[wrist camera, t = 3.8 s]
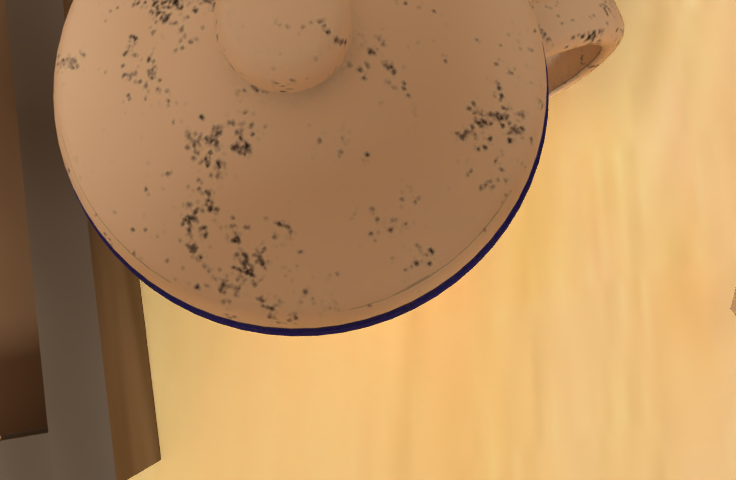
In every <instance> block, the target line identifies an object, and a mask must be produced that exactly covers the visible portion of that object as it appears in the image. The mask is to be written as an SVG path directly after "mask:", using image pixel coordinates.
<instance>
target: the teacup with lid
mask: <svg viewBox="0 0 736 480" xmlns="http://www.w3.org/2000/svg"><path fill="white" fill-rule="evenodd" d="M623 33H624V22H623V19H622V17H621V14H620V12H619V10H618V8H617V6H616V3H615V1H614V0H531V1H529V0H73V2H72V4H71V7H70V9H69V12H68V15H67V18H66V21H65V24H64V26H63V30H62V34H61V39H60V43H59V47H58V51H57V58H56V65H55V72H54V92H53V100H54V116H55V124H56V130H57V136H58V142H59V146H60V150H61V154H62V157H63V161H64V165H65V167H66V171H67V174H68V177H69V179H70V182H71V185H72V187H73V190H74V192H75V195H76V197H77V199H78V201H79V203H80V205H81V207H82V209H83V211H84V212H85V214H86V216H87V218H88V220H89V221H90V223H91V224H92V226H93V227H94V229H95V230H96V232H97V233H98V235H99V236H100V238H101V239H102V240H103V241H104V243H105V244H106V245H107V246H108V248H109V249H110V250H111V251H112V252H113V254H114V255H115V256H116V257H117V258H118V259H119V260H120V261H121V262H122V263H123V264H124V265H125V266H126V267H127V268H128V269H129V270H130V271H131V272H132V273H133V274H134V275H135V276H137V277H138V278H139V279H140V280H142V281H143V282H144V283H145V284H147V285H148V286H149V287H150V288H152V289H153V290H154V291H156V292H158V293H159V294H161V295H162V296H164V297H165V298H167V299H168V300H170V301H171V302H173V303H175V304H177V305H179V306H181V307H183V308H184V309H186V310H188V311H190V312H192V313H194V314H196V315H199V316H201V317H204V318H207V319H209V320H212V321H214V322H217V323H220V324H223V325H227V326H230V327H234V328H237V329H241V330H246V331H251V332H257V333H263V334H270V335H283V336H319V335H327V334H335V333H343V332H347V331H352V330H356V329H361V328H365V327H369V326H372V325H375V324H378V323H381V322H384V321H387V320H390V319H393V318H395V317H397V316H399V315H402V314H404V313H406V312H408V311H411V310H413V309H415V308H417V307H418V306H420V305H422V304H424V303H426V302H427V301H429V300H431V299H433V298H434V297H436V296H437V295H439V294H440V293H442V292H443V291H445V290H446V289H447V288H449V287H450V286H452V285H453V284H454V283H456V282H457V281H458V280H459V279H461V278H462V277H463V276H464V275H465V274H466V273H467V272H469V271H470V270H471V269H472V268H473V267H474V266H475V265H476V264H477V263H478V262H479V261H480V260H481V259H482V258H483V257H484V256H485V255H486V254H487V253H488V252H489V251H490V249H491V248H492V247H493V246H494V245H495V243H496V242H497V241H498V239H499V238H500V237H501V235H502V234H503V233H504V232H505V230H506V229H507V228H508V226H509V224H510V223H511V221H512V219H513V218H514V216H515V215H516V213H517V211H518V210H519V208H520V206H521V204H522V202H523V200H524V198H525V196H526V194H527V192H528V190H529V187H530V185H531V183H532V180H533V177H534V174H535V172H536V169H537V166H538V163H539V159H540V155H541V152H542V148H543V144H544V139H545V133H546V126H547V119H548V100H549V99H550V98H552V97H554V96H555V95H557V94H559V93H560V92H562V91H564V90H565V89H567V88H568V87H570V86H572V85H573V84H575V83H576V82H578V81H579V80H580V79H582V78H583V77H585V76H586V75H587V74H589V73H590V72H591V71H593V70H594V69H595V68H596V67H598V66H599V65H600V64H601V63H602V62H603V61H604V60H605V59H606V58H607V57H608V56H609V55H610V54H611V53H612V52H613V51H614V50H615V48H616V47H617V46H618V44H619V43H620V41H621V39H622V37H623Z"/></svg>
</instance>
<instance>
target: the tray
mask: <svg viewBox="0 0 736 480" xmlns="http://www.w3.org/2000/svg"><path fill="white" fill-rule="evenodd" d="M72 2H73V0H0V437H1V438H0V480H127V479H129V478H131V477H133V476H134V475H136V474H138V473H139V472H141V471H143V470H144V469H146V468H148V467H149V466H151V465H153V464H154V463H156V462H158V461H160V460H161V457H160V449H159V441H158V432H157V424H156V416H155V407H154V399H153V391H152V383H151V374H150V366H149V358H148V349H147V341H146V333H145V324H144V316H143V308H142V300H141V291H140V283H139V278H138V277H137V276H135V275H134V274H133V273H132V272H131V271H130V270H129V269H128V268H127V267H126V266H125V265H124V264H123V263H122V262H121V261H120V260H119V259H118V258H117V257H116V256H115V255H114V254H113V252H112V251H111V250H110V249H109V248H108V246H107V245H106V244H105V243H104V241H103V240H102V239H101V238H100V236H99V235H98V233H97V232H96V230H95V229H94V227H93V226H92V224H91V223H90V221H89V220H88V218H87V216H86V214H85V212H84V211H83V209H82V207H81V205H80V203H79V201H78V199H77V197H76V195H75V192H74V190H73V187H72V185H71V182H70V179H69V177H68V174H67V171H66V167H65V165H64V161H63V157H62V154H61V150H60V146H59V142H58V136H57V130H56V124H55V116H54V100H53V92H54V72H55V65H56V58H57V51H58V47H59V43H60V39H61V34H62V30H63V26H64V24H65V21H66V18H67V15H68V12H69V9H70V7H71V4H72Z"/></svg>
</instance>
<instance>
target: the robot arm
mask: <svg viewBox="0 0 736 480" xmlns="http://www.w3.org/2000/svg"><path fill="white" fill-rule="evenodd" d="M730 309H731V310H732V311H733V312H734V314H735V315H736V289H735V293H734V297H733V301H732V304H731V308H730ZM0 438H1V437H0Z"/></svg>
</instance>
